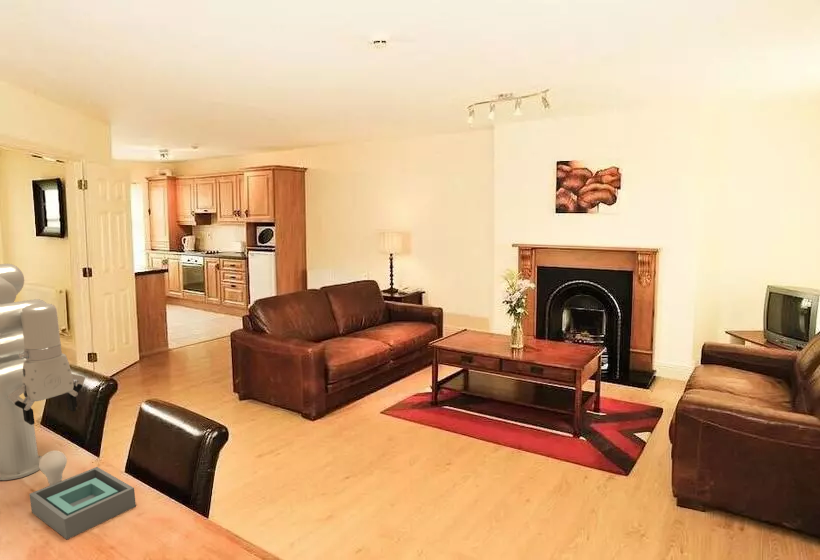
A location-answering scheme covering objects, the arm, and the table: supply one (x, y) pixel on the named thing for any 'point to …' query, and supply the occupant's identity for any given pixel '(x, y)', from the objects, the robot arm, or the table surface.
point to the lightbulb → (53, 466)
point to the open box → (82, 501)
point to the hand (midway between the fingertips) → (51, 416)
